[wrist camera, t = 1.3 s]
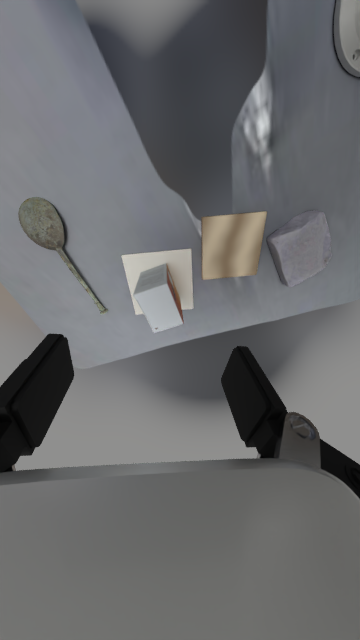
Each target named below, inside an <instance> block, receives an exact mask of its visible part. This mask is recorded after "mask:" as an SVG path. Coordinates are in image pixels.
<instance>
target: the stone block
mask: <svg viewBox="0 0 360 640" xmlns="http://www.w3.org/2000/svg"><path fill="white" fill-rule="evenodd" d="M326 222H327V220H326V217H325V214H324V213H323V212H321V211H316V210H315V211H314V210H312V211H306V212H304V213H302V214H299V215H297V216H295V217H293V218H292V219H291V220H290V221H289V222H287V223H286V224H285V226H283V227H282V228H279V229H278V230H276V231H275V232H274V233H272V234H271V235H270V236H269V237H268V238H267V243H268V246H269V249H270V252H271V254H272V257H273V260H274V263H275V265H276V268H277V271H278V273H279V277H280V279H281V281H282V283H283V284H284V285H286V286H288V287H292V286H295V285H297V284H299V283H301V282H302V281H304V280H306V279H308V278H310V277H311V276H313V275H315V274H317V273H318V272H319V271H321V270H322V269H323V268H325V267H326V265H327V263H328V262H329V261H330V258H331V256H332V253H331V251H330V248H331V237H330V234H329V227H328V224H327V223H326Z"/></svg>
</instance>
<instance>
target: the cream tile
mask: <svg viewBox="0 0 360 640" xmlns="http://www.w3.org/2000/svg"><path fill="white" fill-rule="evenodd" d="M121 256H122V260H123V264H124V268H125V272H126V276H127V280H128V284H129V288H130V293H131V297H132V301H133V305H134V309H135V313H136V315H138V314H144V313H143V312H142V310H141V308H140V306H139V304H138V302H137V301H136V299H135V297H134V296H133V293H134V291H135V288H136V285H137V282H138V279H139V276H140V273H141V272H143V271H145V270H148V269H151V268H154V267H156V266H159V265H162V264H165V263H167V265H168V268H169V270H170V273H171V276H172V279H173V281H174V284H175V287H176V289H177V292H178V294H179V296H180V302H181V309H182V310H187V309H193V285H192V257H191V249H181V250H170V251H159V252H148V253H138V254H127V255H121Z"/></svg>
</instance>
